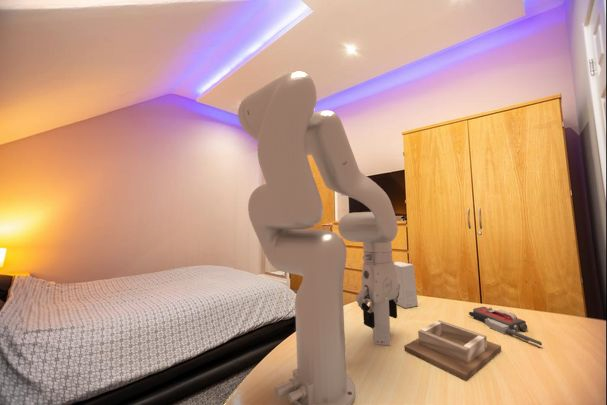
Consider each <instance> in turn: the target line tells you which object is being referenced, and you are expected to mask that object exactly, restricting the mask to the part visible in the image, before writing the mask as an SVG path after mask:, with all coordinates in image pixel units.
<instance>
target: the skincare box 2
mask: <svg viewBox="0 0 607 405" xmlns="http://www.w3.org/2000/svg"><path fill="white" fill-rule="evenodd" d="M394 264H395V268H396V274H397V281H398V284H400V285H401V287H400V290H399V296H398V298H397V299H398V302H397V303H396V304H397V306H399V307H402V308H404V309H406V308H407V309H408V308H414V307H418V304H419V303H418V295H417V284H416V274H415V265H414V264H412V263H408V262H403V261H394Z"/></svg>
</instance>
